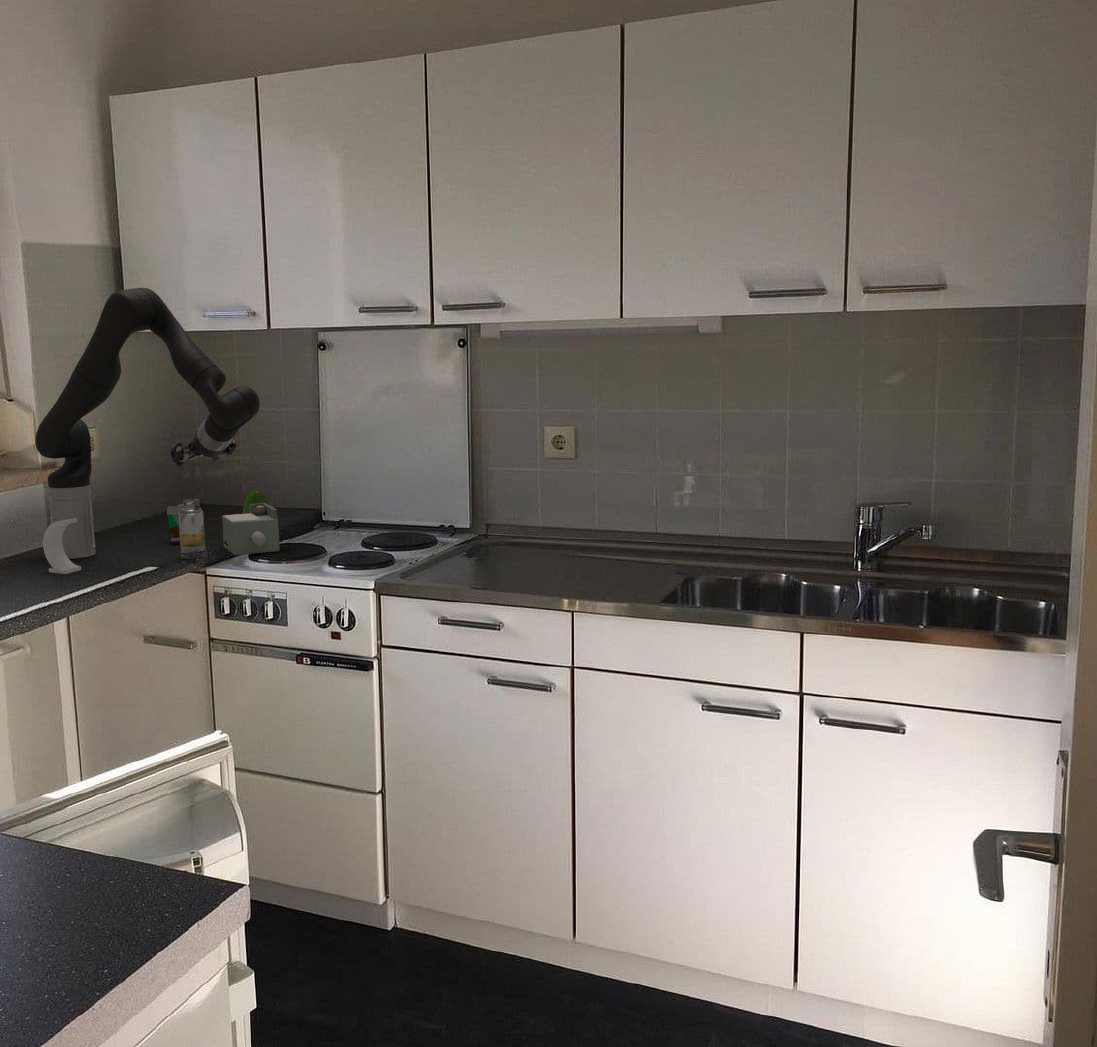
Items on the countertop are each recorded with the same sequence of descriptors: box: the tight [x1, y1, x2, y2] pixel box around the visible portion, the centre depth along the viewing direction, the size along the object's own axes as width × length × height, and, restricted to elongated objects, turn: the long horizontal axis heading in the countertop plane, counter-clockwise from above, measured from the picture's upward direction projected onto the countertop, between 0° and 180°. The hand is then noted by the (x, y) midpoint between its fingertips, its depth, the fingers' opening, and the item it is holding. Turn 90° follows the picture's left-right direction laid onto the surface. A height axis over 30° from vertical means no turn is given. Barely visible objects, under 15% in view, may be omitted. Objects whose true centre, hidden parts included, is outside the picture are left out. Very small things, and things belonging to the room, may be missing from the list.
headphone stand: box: [42, 518, 82, 575], centre depth 241 cm, size 5×6×12 cm
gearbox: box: [221, 503, 281, 556], centre depth 264 cm, size 11×15×10 cm
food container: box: [166, 499, 201, 545], centre depth 276 cm, size 12×6×10 cm, turn 179°
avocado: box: [241, 489, 271, 514], centre depth 284 cm, size 8×8×12 cm
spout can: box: [179, 498, 207, 560], centre depth 255 cm, size 6×6×14 cm
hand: (196, 460), depth 255 cm, fingers open, 8 cm apart
